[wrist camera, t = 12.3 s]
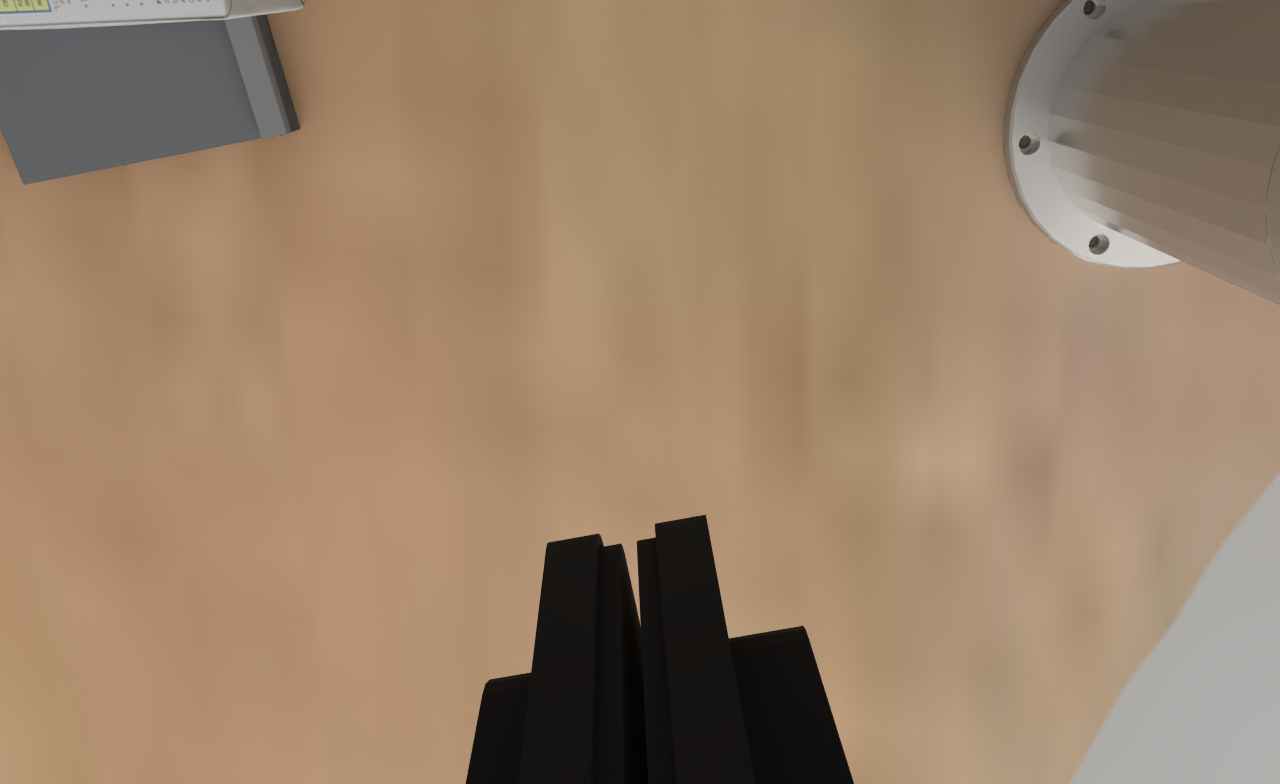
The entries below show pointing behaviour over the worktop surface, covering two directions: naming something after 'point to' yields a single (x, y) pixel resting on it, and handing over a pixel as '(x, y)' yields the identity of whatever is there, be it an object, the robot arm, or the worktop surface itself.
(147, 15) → the light bulb box
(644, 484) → the worktop surface
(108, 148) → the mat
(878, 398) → the worktop surface
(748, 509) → the worktop surface
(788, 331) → the worktop surface
